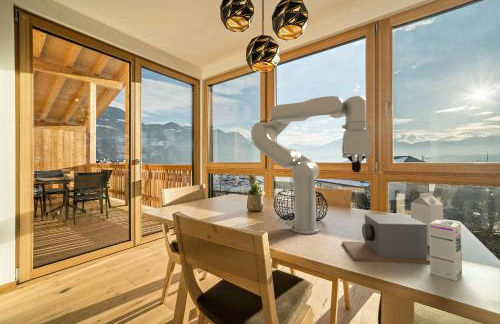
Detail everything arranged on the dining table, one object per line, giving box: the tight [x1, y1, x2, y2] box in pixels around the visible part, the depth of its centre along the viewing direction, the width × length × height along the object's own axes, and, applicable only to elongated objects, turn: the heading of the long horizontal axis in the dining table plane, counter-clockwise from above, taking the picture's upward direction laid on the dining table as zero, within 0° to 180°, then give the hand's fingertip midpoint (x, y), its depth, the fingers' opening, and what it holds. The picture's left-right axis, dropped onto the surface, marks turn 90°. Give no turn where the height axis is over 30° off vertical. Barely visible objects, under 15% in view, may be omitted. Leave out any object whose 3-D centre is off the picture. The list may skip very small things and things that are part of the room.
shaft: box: [361, 223, 374, 242], centre depth 76 cm, size 18×6×6 cm, turn 82°
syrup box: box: [428, 219, 463, 282], centre depth 62 cm, size 6×6×14 cm
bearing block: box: [341, 213, 430, 265], centre depth 77 cm, size 23×14×12 cm, turn 82°
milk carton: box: [410, 192, 444, 247], centre depth 85 cm, size 7×7×19 cm
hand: (356, 171), depth 92 cm, fingers closed
